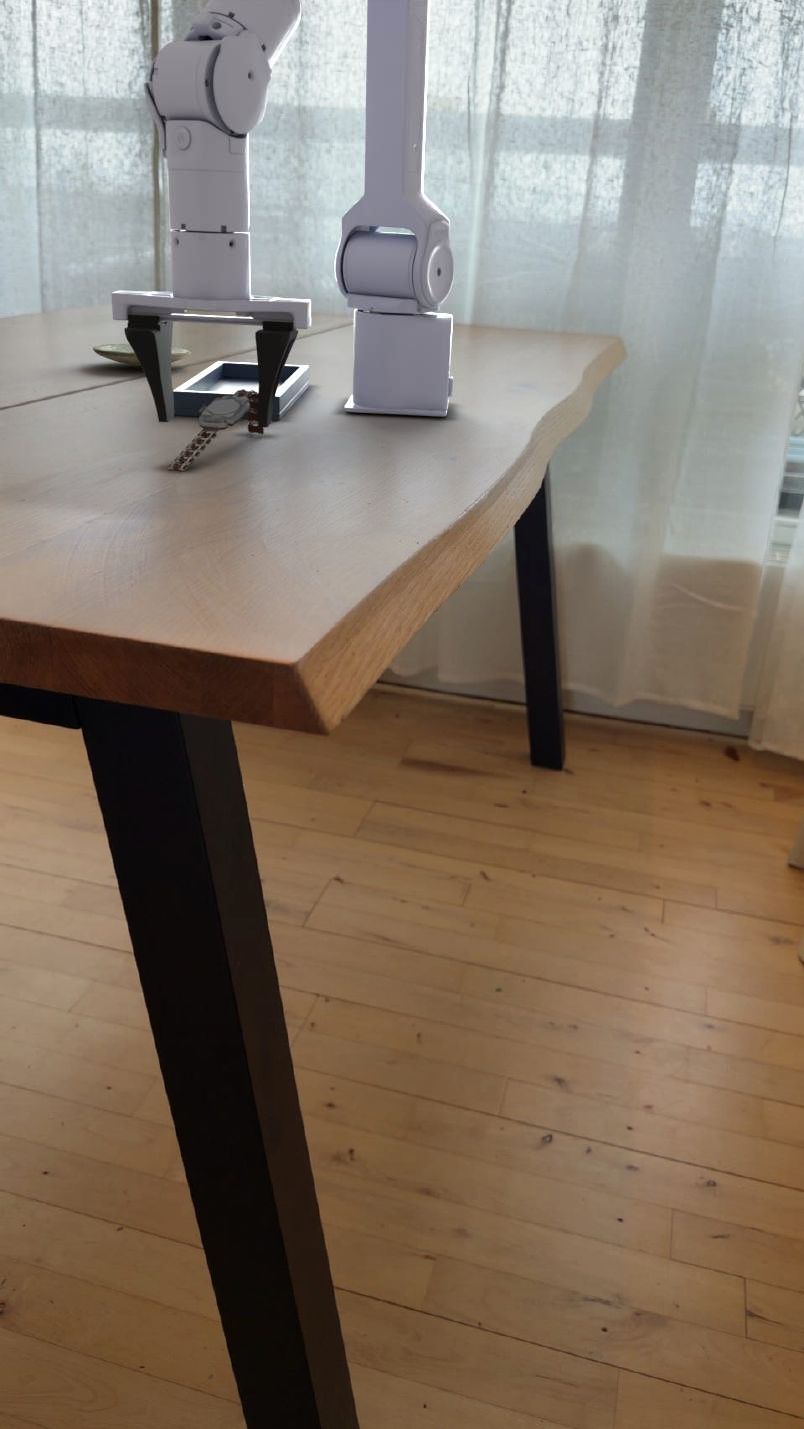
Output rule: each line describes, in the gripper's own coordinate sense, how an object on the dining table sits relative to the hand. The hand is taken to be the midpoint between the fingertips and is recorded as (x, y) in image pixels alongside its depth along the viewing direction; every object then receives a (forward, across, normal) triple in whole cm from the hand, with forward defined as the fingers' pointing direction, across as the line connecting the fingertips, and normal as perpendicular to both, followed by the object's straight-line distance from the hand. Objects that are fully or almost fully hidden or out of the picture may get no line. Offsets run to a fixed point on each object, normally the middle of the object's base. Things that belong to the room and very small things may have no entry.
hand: (215, 422), depth 88 cm
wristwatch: (+2, 0, 0) cm, 2 cm away
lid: (+2, -18, +41) cm, 45 cm away
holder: (+2, -2, +24) cm, 24 cm away
